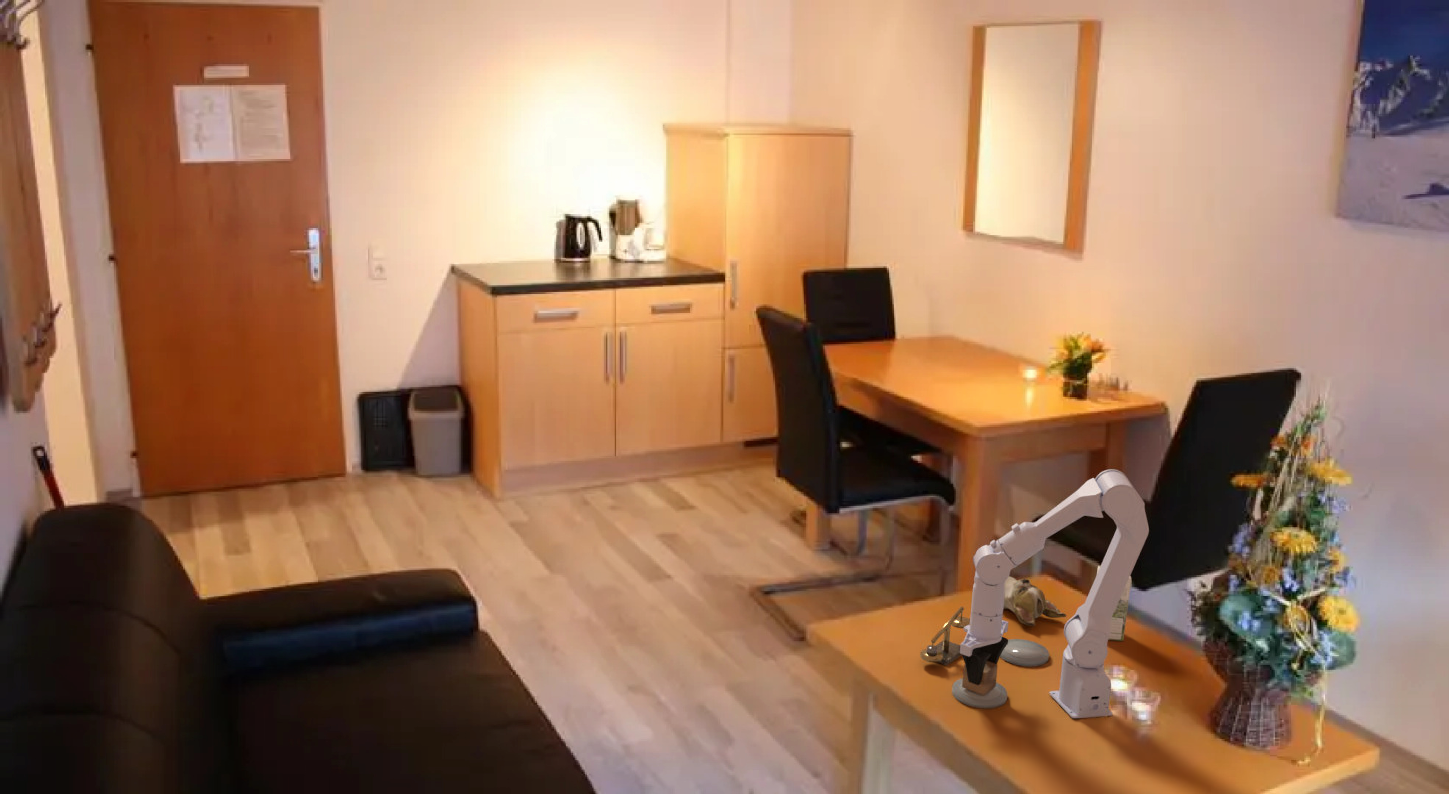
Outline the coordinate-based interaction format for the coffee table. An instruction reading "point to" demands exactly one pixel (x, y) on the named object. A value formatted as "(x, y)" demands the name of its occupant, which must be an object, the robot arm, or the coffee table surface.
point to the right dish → (1025, 653)
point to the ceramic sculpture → (1028, 601)
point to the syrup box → (1120, 614)
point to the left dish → (980, 696)
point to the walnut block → (987, 679)
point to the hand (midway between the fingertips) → (980, 678)
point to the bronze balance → (945, 642)
